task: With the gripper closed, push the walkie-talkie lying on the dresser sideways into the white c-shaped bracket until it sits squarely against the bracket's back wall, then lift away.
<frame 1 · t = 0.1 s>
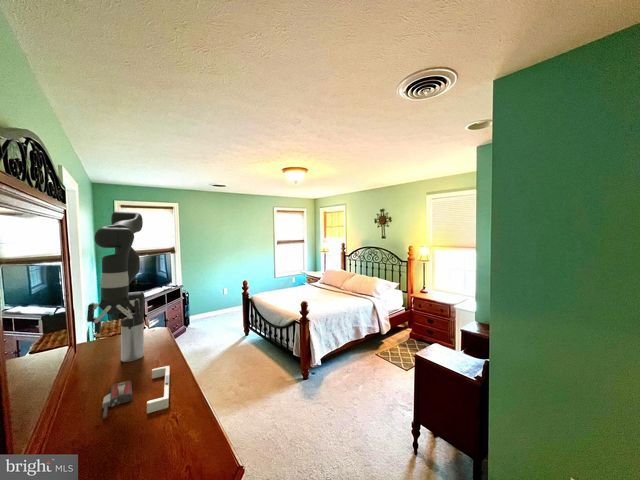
hand: (114, 330, 89), 29 cm above the table, tool pointing down, fingers open, 8 cm apart
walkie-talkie: (118, 402, 95), on the table
white c-shaped bracket: (157, 391, 101), on the table
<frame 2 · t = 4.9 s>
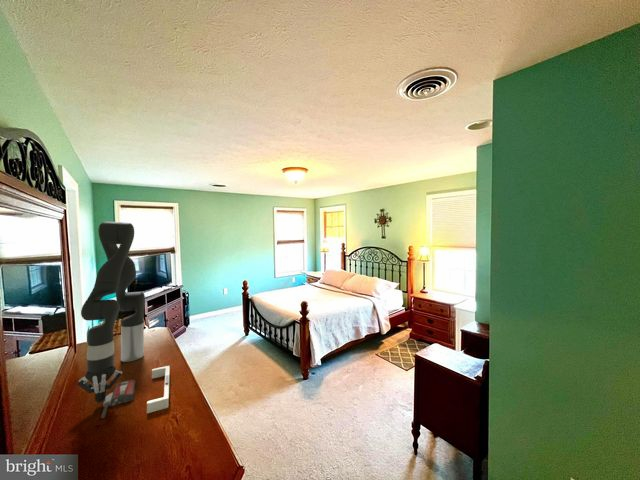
hand: (100, 401, 93), 2 cm above the table, tool pointing down, fingers closed
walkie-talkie: (119, 401, 96), on the table, touching gripper
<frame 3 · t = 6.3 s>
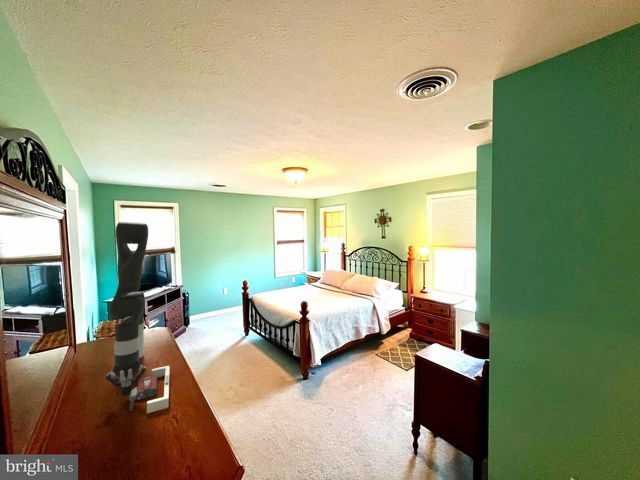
hand: (126, 394, 96), 2 cm above the table, tool pointing down, fingers closed
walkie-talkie: (143, 396, 99), on the table, touching gripper
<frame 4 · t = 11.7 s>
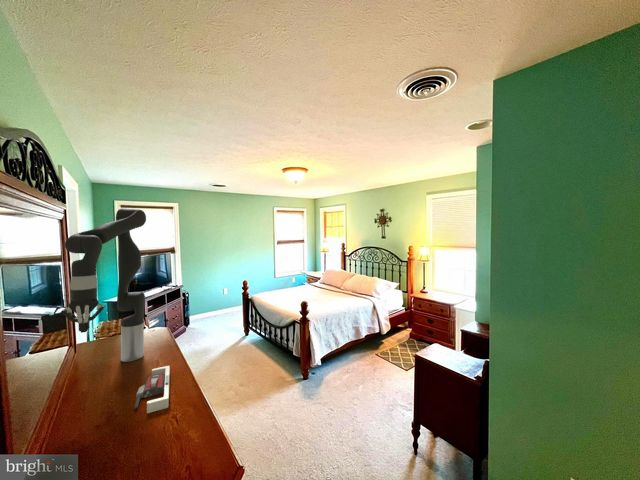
hand: (84, 331, 97), 25 cm above the table, tool pointing down, fingers closed
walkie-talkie: (150, 394, 100), on the table
at the end: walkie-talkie 0.4 cm from the target spot, on the table; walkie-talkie tilted 0°; the gripper is holding nothing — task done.
